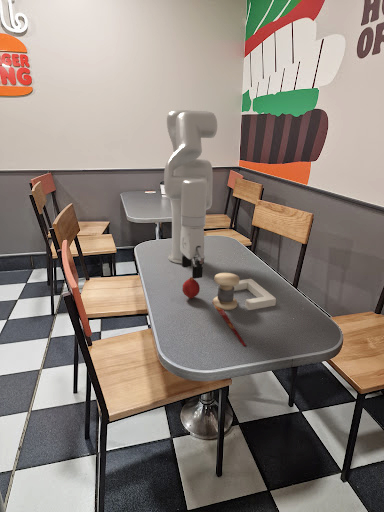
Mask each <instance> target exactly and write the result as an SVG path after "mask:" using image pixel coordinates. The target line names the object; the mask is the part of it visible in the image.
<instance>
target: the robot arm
mask: <svg viewBox="0 0 384 512" xmlns="http://www.w3.org/2000/svg"><path fill="white" fill-rule="evenodd" d="M166 128H167V132H168V135H169V138H170V142H171V144H172V149H173V150H172V152H173V153H172V154H171V155H170V157H169V158H168V160H167V162H166V163H165V166H164V173H163V177H164V179H163V183H164V185H163V186H164V187H163V188H164V194H165V196H166V198H167V199H169V200H170V201H169V202H170V208H171V253H169V254H168V257H167V258H168V260H169V261H170V262H172V263H175V264H181V267H183V268H189V267H190V268H191V267H192V272H191V273H192V274H191V275H192V276H191V277H192V278H193V279H194V280H196V279H202V278H203V272H204V271H203V269H204V263H205V259H206V256H205V255H204V254H205V230H204V228H205V227H206V217H207V216H206V212H207V210H210V208H211V207H212V205H213V181H214V180H213V179H214V177H213V165H212V163H211V162H210V160H208V159H199V158H200V157H201V155H202V152H203V148H202V139H212V138H214V137H216V135H217V131H218V120H217V116H216V115H215V113H214V112H211V111H207V110H190V109H189V110H184V109H183V110H182V109H180V110H179V109H177V110H172V111H170V112H169V113H167V116H166ZM192 264H193V266H192Z"/></svg>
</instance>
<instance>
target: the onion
mask: <svg viewBox="0 0 384 512" xmlns="http://www.w3.org/2000/svg"><path fill="white" fill-rule="evenodd" d="M181 289H182V293H183V294H184V295H185V297H187V298H188V299H190V300H192V299H194V298H195V297H197V296H198V295H199V293H200V284H199V282H198V281H197V280H196V279H193V278H192V276H190V277H189V278H188V279H187V280H185V281H184V283H183V284H182V288H181Z"/></svg>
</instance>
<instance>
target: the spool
mask: <svg viewBox="0 0 384 512" xmlns="http://www.w3.org/2000/svg"><path fill="white" fill-rule="evenodd" d="M213 280H214V282H215V283H216V284H217V285H218V287H217V296H215V297H214V298H213V299H212V302H213V303H212V306H214V307H215V306H217V307H219V308H222V309H223V310H224V311H231V310H235V309H236V308H237V307H238V300H237V299H236V298H235V296H234V295H235V291H234V287H233V286H235V285H237V284H239V281H240V280H241V279H240V276H238V274H235V273H233V272H232V273H231V272H219V273H217V274H215V275H214V278H213Z"/></svg>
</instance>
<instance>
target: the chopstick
mask: <svg viewBox="0 0 384 512" xmlns="http://www.w3.org/2000/svg"><path fill="white" fill-rule="evenodd" d="M211 303H212V304H213V301H212V302H211ZM214 307H215V309H216V310H217V312H218V313H219V314H220V316H221V317H222V319H223V320H224V322H225V323H226V324H227V326H228V327H229V328H230V330H231V331H232V333H233V334H234V335H235V337H236V338H237V339H238V340H239V342H240V343H241V344H242V346H243V347H247V344H246V343H245V341H244V340H243V338H242V337H241V335H240V334H239V332H238V330H237V328H236V327H235V326H234V324H233V323H232V321H231V319H230V318H229V316H228V315H227V313H226V312H225V310H223V309H222V308H219V307H217V306H214Z"/></svg>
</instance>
